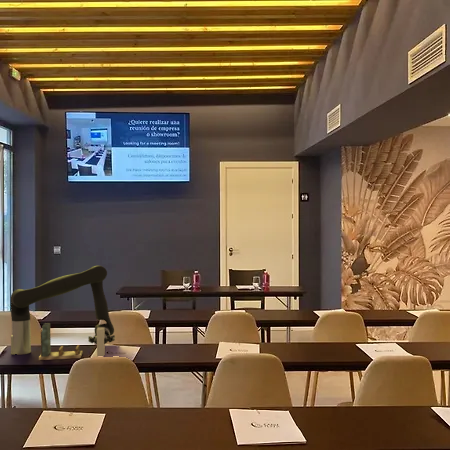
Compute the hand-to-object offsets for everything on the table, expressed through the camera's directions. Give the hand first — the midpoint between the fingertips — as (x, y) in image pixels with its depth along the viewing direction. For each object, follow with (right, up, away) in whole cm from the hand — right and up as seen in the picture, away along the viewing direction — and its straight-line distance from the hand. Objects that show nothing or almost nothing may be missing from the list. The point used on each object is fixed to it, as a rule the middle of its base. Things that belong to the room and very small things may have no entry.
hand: (100, 342), depth 278 cm
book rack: (-21, -8, +4) cm, 22 cm away
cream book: (0, -8, +3) cm, 8 cm away
